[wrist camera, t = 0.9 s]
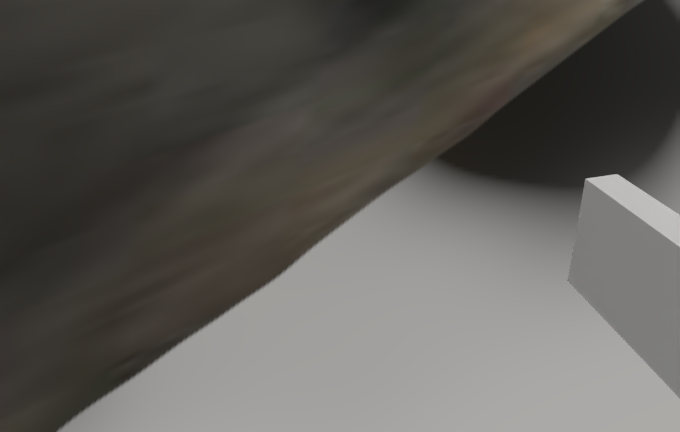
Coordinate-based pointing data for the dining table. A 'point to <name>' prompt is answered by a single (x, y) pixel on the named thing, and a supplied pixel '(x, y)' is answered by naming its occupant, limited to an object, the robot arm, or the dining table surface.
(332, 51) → the dining table surface
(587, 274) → the robot arm
